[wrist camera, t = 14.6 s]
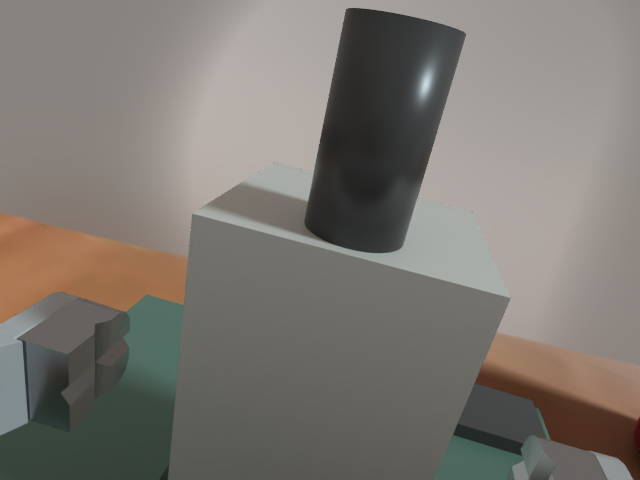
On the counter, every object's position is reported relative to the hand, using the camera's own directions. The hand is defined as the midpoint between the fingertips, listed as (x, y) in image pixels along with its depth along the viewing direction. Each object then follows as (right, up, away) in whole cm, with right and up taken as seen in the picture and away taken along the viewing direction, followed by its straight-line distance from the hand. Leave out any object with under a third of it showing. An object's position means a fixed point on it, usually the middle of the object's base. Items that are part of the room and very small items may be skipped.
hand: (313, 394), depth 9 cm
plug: (-1, -6, +3) cm, 7 cm away
